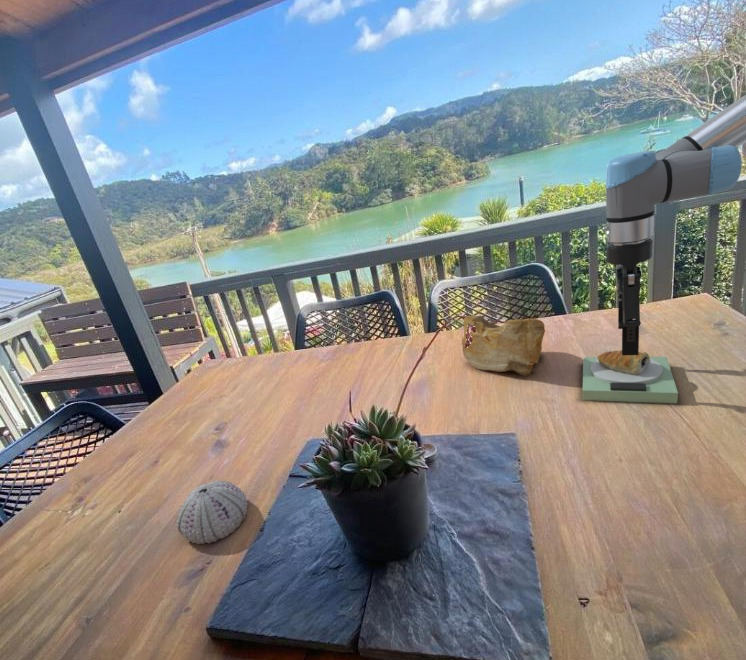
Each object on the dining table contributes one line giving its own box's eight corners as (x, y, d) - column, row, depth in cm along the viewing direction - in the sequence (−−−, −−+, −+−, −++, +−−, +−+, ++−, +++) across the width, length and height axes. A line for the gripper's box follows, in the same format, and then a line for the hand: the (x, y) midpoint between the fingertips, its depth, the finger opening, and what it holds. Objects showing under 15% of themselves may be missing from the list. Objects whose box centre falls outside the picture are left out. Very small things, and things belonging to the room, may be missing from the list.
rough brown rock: (575, 365, 108) (575, 307, 103) (533, 388, 101) (531, 326, 96) (498, 349, 127) (496, 300, 123) (458, 367, 120) (453, 315, 115)
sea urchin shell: (253, 491, 90) (241, 459, 87) (249, 539, 78) (235, 504, 75) (190, 508, 90) (176, 477, 87) (176, 560, 77) (159, 526, 74)
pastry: (591, 368, 97) (591, 352, 95) (605, 356, 100) (606, 341, 99) (639, 377, 89) (640, 360, 88) (653, 364, 93) (654, 347, 91)
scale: (665, 368, 97) (666, 353, 95) (677, 406, 84) (678, 389, 83) (583, 368, 105) (583, 354, 103) (582, 402, 92) (582, 387, 91)
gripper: (604, 230, 96) (605, 319, 104) (608, 260, 76) (609, 367, 84) (645, 224, 92) (643, 317, 100) (661, 254, 72) (656, 367, 80)
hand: (627, 340), depth 92 cm, fingers open, 13 cm apart
